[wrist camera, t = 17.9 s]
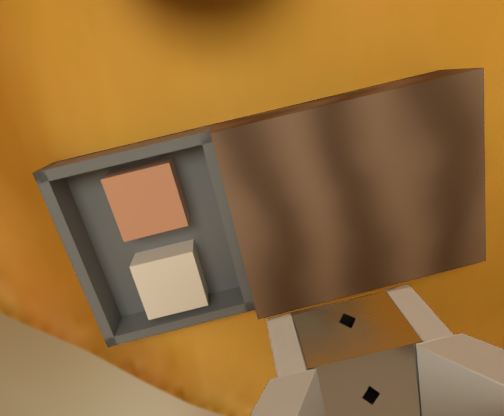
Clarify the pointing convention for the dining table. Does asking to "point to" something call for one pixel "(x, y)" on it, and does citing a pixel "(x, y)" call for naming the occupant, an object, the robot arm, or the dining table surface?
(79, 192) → the bin
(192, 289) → the cream block
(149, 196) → the terracotta tile
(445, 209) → the block
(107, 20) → the dining table surface
